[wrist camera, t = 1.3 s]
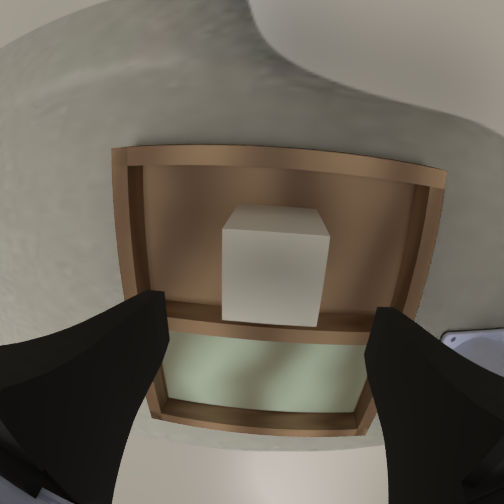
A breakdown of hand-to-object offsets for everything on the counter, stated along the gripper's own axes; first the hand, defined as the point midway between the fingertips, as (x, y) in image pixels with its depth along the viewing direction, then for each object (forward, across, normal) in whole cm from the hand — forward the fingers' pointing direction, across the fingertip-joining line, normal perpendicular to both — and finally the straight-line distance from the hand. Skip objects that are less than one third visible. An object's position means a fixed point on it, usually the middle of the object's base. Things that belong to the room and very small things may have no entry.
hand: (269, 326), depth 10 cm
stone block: (+8, 0, 0) cm, 8 cm away
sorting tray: (+9, 0, +5) cm, 11 cm away
